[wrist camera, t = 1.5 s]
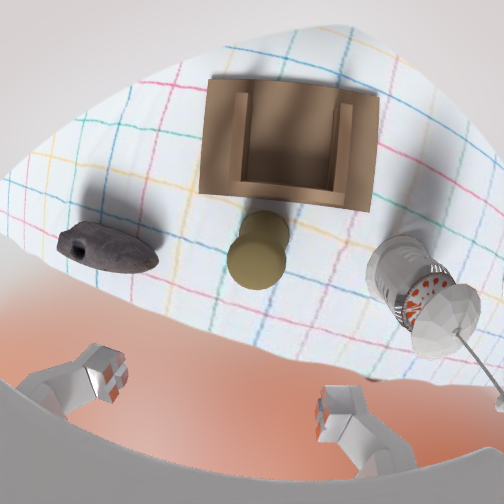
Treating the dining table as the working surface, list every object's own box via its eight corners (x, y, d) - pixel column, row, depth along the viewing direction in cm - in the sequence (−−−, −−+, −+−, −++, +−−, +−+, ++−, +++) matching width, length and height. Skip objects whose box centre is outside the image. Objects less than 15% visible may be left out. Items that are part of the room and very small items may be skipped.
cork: (236, 212, 33) (213, 234, 22) (287, 208, 32) (289, 228, 22) (241, 261, 35) (223, 301, 24) (290, 258, 34) (293, 298, 23)
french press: (395, 219, 31) (546, 317, 7) (448, 267, 31) (565, 372, 8) (350, 282, 34) (424, 450, 10) (407, 321, 34) (485, 458, 11)
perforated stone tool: (169, 239, 35) (144, 256, 28) (163, 275, 37) (140, 297, 30) (83, 212, 35) (52, 221, 29) (81, 244, 37) (52, 258, 30)
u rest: (376, 99, 27) (392, 87, 21) (367, 211, 31) (382, 219, 26) (210, 81, 28) (197, 67, 23) (201, 192, 33) (185, 197, 27)
